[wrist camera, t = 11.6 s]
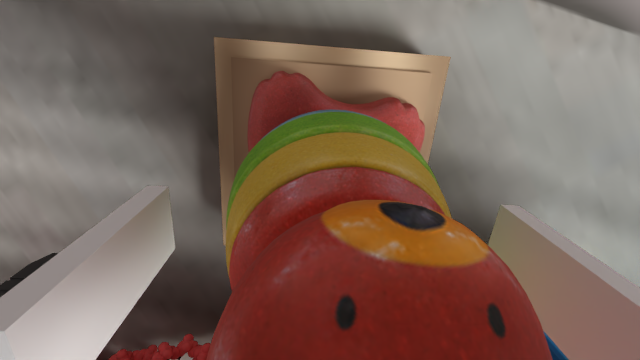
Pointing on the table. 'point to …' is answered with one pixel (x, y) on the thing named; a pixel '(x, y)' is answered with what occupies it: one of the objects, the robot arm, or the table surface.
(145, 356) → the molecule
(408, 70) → the oak stand
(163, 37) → the table surface
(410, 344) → the stacking bear
